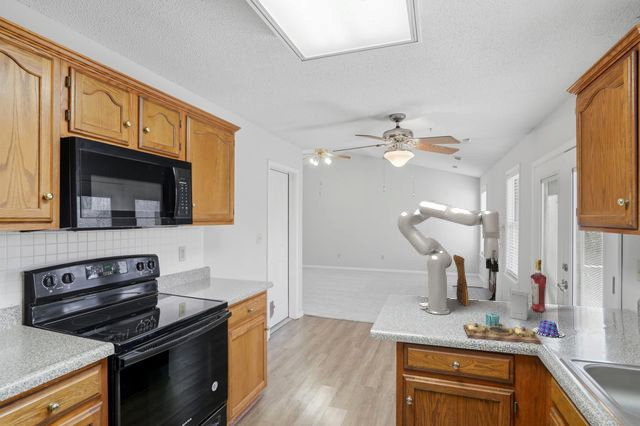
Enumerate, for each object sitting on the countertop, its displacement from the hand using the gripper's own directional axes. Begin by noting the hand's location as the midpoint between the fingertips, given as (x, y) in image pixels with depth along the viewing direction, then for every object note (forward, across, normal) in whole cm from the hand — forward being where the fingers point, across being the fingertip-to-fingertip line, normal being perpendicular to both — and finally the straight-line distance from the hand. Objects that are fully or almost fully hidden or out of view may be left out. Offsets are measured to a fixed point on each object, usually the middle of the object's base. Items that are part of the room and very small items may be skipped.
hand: (492, 270), depth 169 cm
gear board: (+26, +18, -2) cm, 32 cm away
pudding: (+27, +10, +20) cm, 35 cm away
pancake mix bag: (+25, -34, -9) cm, 43 cm away
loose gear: (+26, +4, -2) cm, 26 cm away
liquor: (+26, -24, +28) cm, 46 cm away
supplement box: (+26, -11, +15) cm, 32 cm away
